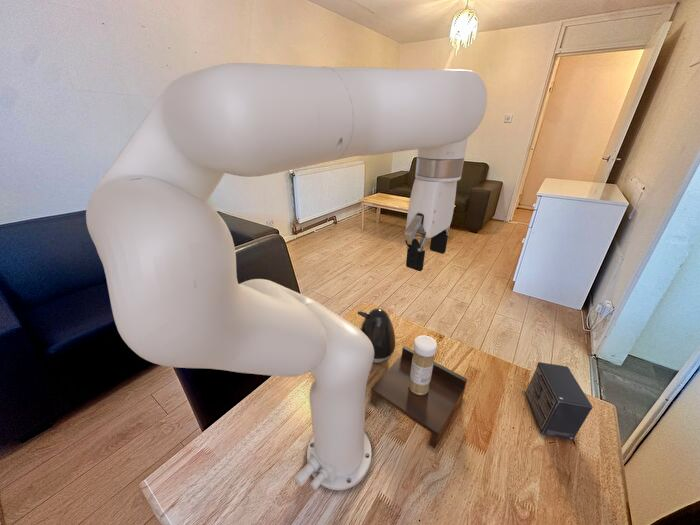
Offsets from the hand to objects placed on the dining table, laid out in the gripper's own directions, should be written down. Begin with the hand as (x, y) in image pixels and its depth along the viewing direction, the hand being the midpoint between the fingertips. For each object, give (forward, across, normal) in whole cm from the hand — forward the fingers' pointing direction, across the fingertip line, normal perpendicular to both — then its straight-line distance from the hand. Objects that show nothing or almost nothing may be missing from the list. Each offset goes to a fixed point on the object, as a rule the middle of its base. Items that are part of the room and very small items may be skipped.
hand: (426, 259), depth 56 cm
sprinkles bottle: (+30, +4, +4) cm, 30 cm away
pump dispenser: (+34, -2, -12) cm, 37 cm away
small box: (+34, -12, +28) cm, 46 cm away
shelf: (+34, +4, +4) cm, 35 cm away
